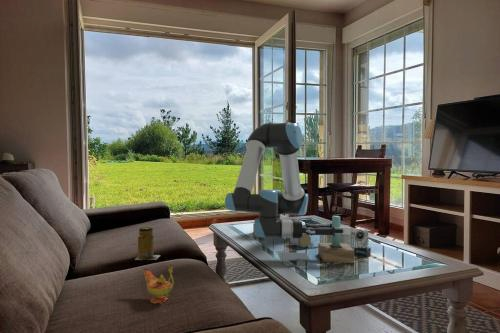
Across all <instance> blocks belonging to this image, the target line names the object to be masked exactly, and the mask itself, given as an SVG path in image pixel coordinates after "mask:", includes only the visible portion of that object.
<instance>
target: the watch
mask: <svg viewBox="0 0 500 333" xmlns="http://www.w3.org/2000/svg"><path fill="white" fill-rule="evenodd" d="M353 237H354V240H355V243H356V246H354V247H353V250H354V256H360V257H366V258H367V257H369V256H371V255H372V254H371V253H372V252H371V251H372V250H371V249H372V248H371V247H369V246H368V244H369V230H368V229H367V228H359V229H357V231H356V232H355V233H354V236H353Z"/></svg>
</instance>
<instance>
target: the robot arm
mask: <svg viewBox="0 0 500 333" xmlns="http://www.w3.org/2000/svg"><path fill="white" fill-rule="evenodd" d="M302 145H303V134H302V130H301V127H300V125H299V124H298V123H295V122H294V123H293V122H282V123H281V122H278V123H277V122H276V123H275V122H273V123H270V122H269V123H263V124H261V125H259V126H258V127H256V128H255V129H253V131H252V132H251V134H249V136H248V137H247V140H246V143H245V148H246V150H245V154H244V157H243V160H242V163H241V167H240V171H239V174H238V177H237V180H236V182H235V187H234V190H233V192H228V193H227V194H226V195H225V198H224V206H225V208H226V209H227V211H232V212H243V213H244V212H245V213H258V214H259V215H258V218H255V219H254V232H253V233H254V234H253V235H254V236H255V237H257V238H265V239H271V238H273V239H283V240H286V239H290V238H291V237H293V238H302V233H306V234H307V235H310V237H311V236H332V235H333V236H335V234H340V235H352V228H351V227H349V225H340V227H334V228H332V222H331V223H326V224H325V223H324V224H323V223H319V224H318V223H305V224H303V221H302V219H290V218H289V219H288V218H287V219H285V218H283V219H282V218H281V215H290V216H304V215H306V213H307V209H308V205H309V204H308V203H309V194H308V193H305V190H304V189H303V187H302V186H301V177H300V170H299V169H300V168H299V160H298V152H299V150H300V148H301V147H302ZM268 148H275V153H276V154H277V155H279V160H280V168H281V176H282V181H283V187H284V189H283V191H282V190H281V189H260V190H259V192H258V193H253V189H254V185H255V181H256V177H257V174H258V172H259V171H258V170H259V167H260V164H261V160H262V155H263V154H264V153H265V152H266V149H268Z"/></svg>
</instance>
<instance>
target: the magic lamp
mask: <svg viewBox="0 0 500 333" xmlns="http://www.w3.org/2000/svg"><path fill="white" fill-rule="evenodd" d="M173 269H174V267H173V266H169V268H168V272H169V278H168V280H166V277H165V276H164V275H163V274H160V276H159V278H158V277H156V276H155V275H154V274H153V273H152V272H151V271H150V270H149V269H148V268H146V267H142V268H141V271H142V272H143V274H144V275H143V276H144V278H145V283H146V289H147V291H148V292H149V294H151V295H153V296H154V297H152V298H151V299H150V303H152V304H156V303H160V304H162V303H161V302H165V301H166V300H167V299H168V298H169V295H170V294H169V293H170V292H171V291H172V289H173V286H174V283H175V282H174V278H173V274H172V273H174V272H173ZM170 281H172V282H170ZM167 297H168V298H167ZM165 303H166V302H165Z"/></svg>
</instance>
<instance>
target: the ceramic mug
mask: <svg viewBox="0 0 500 333" xmlns="http://www.w3.org/2000/svg"><path fill="white" fill-rule="evenodd" d="M289 242H290V244H292V245H294V246H297V247H299V248H307V247H309V246H312V247H313V246H314V245H315V243H314V242H313V241H312V238H311V235H307V234H306V233H302V238H293V237H291V238H289Z"/></svg>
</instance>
